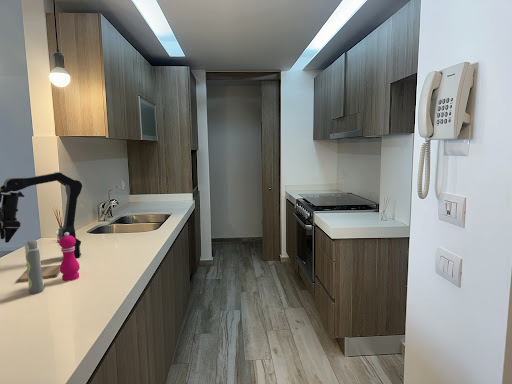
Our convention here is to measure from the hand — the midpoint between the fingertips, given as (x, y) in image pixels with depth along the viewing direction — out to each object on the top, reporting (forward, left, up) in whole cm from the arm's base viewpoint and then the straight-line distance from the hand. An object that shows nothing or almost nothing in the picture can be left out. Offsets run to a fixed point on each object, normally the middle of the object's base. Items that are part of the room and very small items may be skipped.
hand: (4, 240), depth 145 cm
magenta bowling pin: (-28, +21, -15) cm, 38 cm away
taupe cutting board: (-15, +10, -14) cm, 23 cm away
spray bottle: (-18, +31, -15) cm, 39 cm away
